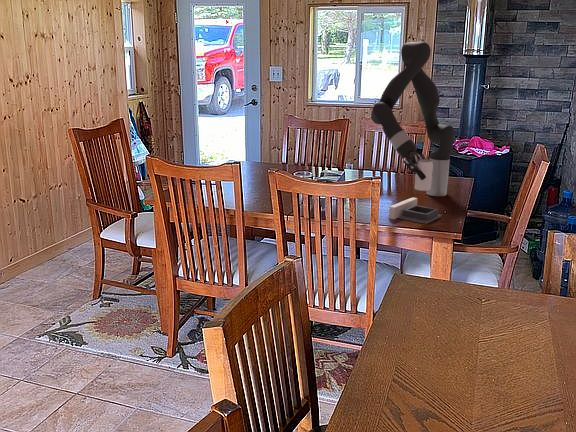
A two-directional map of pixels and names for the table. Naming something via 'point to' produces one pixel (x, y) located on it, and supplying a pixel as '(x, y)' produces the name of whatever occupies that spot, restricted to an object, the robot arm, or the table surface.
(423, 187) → the can
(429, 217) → the keeper
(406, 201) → the door edge
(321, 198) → the drinking glass
